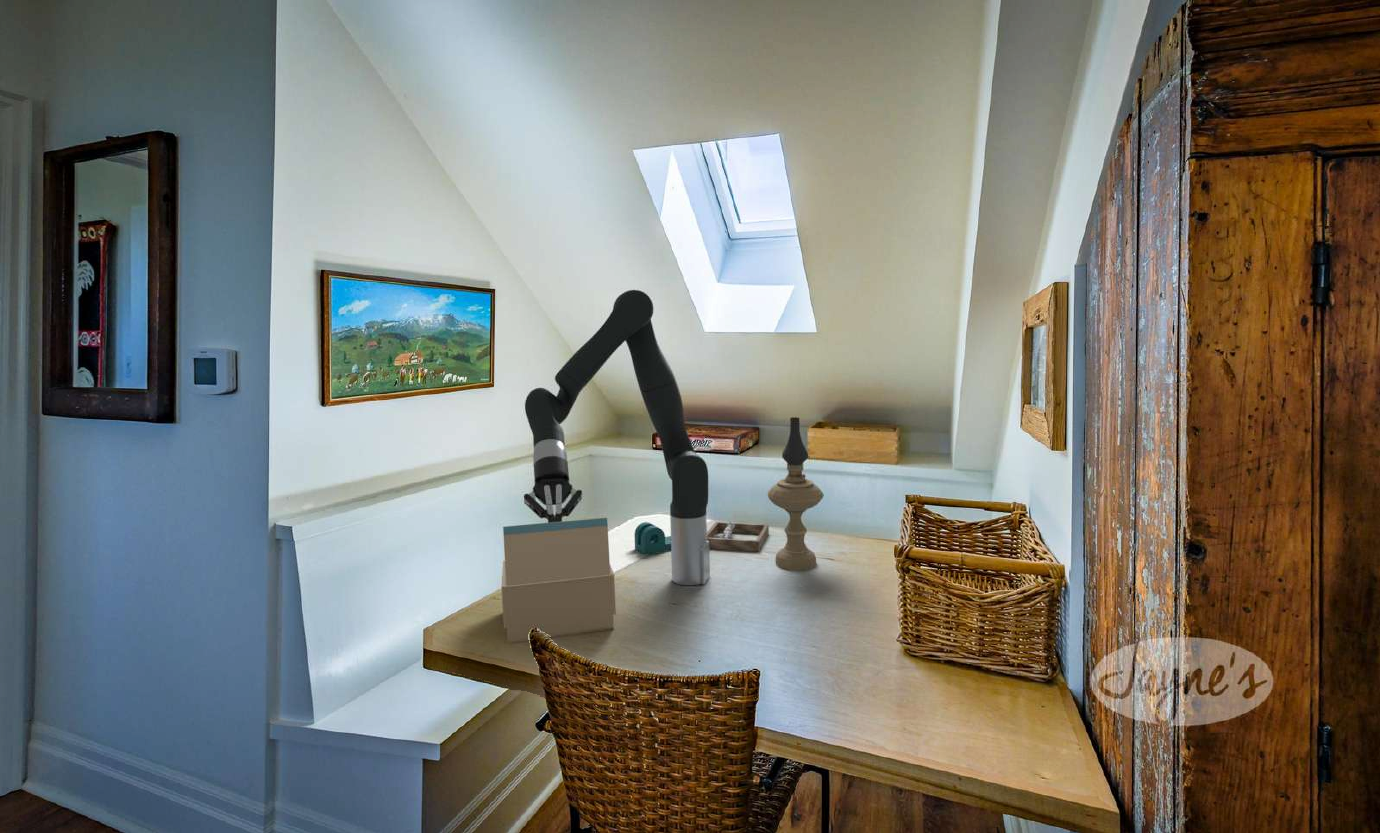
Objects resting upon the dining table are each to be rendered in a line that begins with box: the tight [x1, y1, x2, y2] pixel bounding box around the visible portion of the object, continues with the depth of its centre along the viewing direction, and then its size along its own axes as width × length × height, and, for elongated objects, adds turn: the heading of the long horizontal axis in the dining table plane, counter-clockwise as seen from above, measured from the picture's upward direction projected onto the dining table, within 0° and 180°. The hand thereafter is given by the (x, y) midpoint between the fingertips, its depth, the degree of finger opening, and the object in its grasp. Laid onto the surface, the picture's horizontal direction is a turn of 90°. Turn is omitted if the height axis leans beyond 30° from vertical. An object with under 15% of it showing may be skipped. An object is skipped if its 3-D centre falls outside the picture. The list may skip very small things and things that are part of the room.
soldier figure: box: [713, 521, 735, 539], centre depth 206 cm, size 8×5×12 cm
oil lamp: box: [766, 416, 825, 571], centre depth 180 cm, size 15×15×40 cm
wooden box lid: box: [502, 517, 611, 586], centre depth 139 cm, size 12×21×1 cm
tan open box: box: [501, 560, 617, 644], centre depth 149 cm, size 19×23×12 cm
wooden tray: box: [707, 521, 770, 553], centre depth 204 cm, size 17×18×3 cm
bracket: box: [634, 521, 671, 556], centre depth 199 cm, size 18×7×8 cm, turn 118°
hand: (556, 532), depth 140 cm, fingers closed
